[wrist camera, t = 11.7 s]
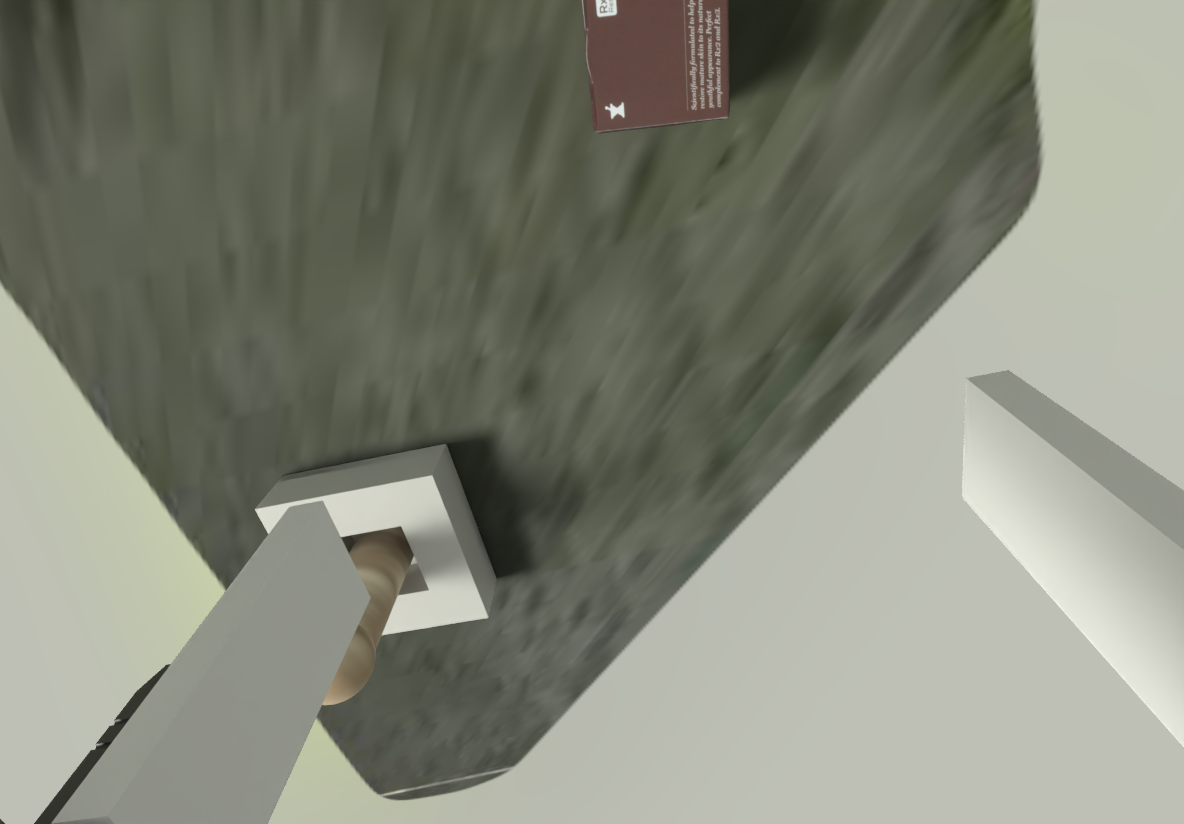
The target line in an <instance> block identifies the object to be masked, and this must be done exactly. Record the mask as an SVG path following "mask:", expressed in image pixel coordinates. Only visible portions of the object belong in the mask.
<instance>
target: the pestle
mask: <svg viewBox="0 0 1184 824" xmlns="http://www.w3.org/2000/svg"><path fill="white" fill-rule="evenodd" d="M349 555H350V557H351V559H352V561H353V563H354V565H355V567H356V569H357V571H358V573H359V575H360V577H361V579H362V581H363V583H364V585H365V587H366V589H367V591H368V593H369V595H370V597H371V598H370V600H369V603H368V605H367V607H366V609H365V611H364V614H363V616H362V618H361V620H360V622H359V625H358V627H357V629H356V631H355V633H354V636H353V638H352V640H351V642H350V644H349V647H348V649H347V651H346V653H345V655H344V657H343V660H342V662H341V664H340V666H339V668H338V671H337V673H336V675H335V677H334V679H333V682H332V684H331V686H330V688H329V690H328V693H327V695H326V697H325V699H324V701H323V703H322V705H332V704H337V703H340V702H343V701H345V700H347V699H349V698H351V697H352V696H354V695H355V694H356V693H358V692H359V691H360V690H361V689H362V688H363V687H364V685H365V684H366V683H367V681H368V680H369V678H370V676H371V674H372V672H373V669H374V665H375V659H376V648H377V645H378V643H379V640H380V638H381V636H382V633H383V631H384V628H385V626H386V623H387V621H388V618H389V616H390V613H391V611H392V608H393V606H394V604H395V601H396V599H397V596H398V594H399V591H400V589H401V586H402V584H403V581H404V579H405V577H406V574H407V572H408V569H409V567H410V564H411V562H412V559H413V557H414V554H413V552H412V550H411V547H410V545H409V543H408V541H407V538H406V536H405V534H404V531H403V529H402V527H401V526H399V527H394V528H388V529H383V530H377V531H372V532H366V533H361V534H360V535H359V536H358V538H357V540H356V542H355V544H354V546H353V547H352V549H351V551H350V553H349Z"/></svg>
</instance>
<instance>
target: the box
mask: <svg viewBox="0 0 1184 824" xmlns="http://www.w3.org/2000/svg"><path fill="white" fill-rule="evenodd" d="M582 9H583V21H584V31H585V42H586V56H587V64H588V75H589V86H590V98H591V108H592V119H593V128H594V131H595V132H596V133H608V132H617V131H625V130H635V129H644V128H655V127H663V126H672V125H680V124H687V123H695V122H702V121H710V120H721V119H725V118H728V117H729V111H730V25H729V19H730V18H729V0H582Z"/></svg>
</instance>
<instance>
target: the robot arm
mask: <svg viewBox="0 0 1184 824" xmlns="http://www.w3.org/2000/svg"><path fill="white" fill-rule="evenodd" d="M962 498H963V499H964V500H965V501H966V502H967V503H968V504H969V506H970V507H971V508H972V509H973V510H974V511H975V512H976V513H977V515H978V516H979V517H980V518H981V519H982V520H983V521H984V523H985V524H986V525H987V526H988V527H989V528H990V529H991V530H992V532H993V533H994V534H995V535H996V536H997V537H998V538H999V539H1000V540H1001V542H1002V543H1003V544H1004V545H1005V546H1006V547H1007V548H1008V550H1009V551H1010V552H1011V553H1012V554H1013V555H1014V556H1015V557H1016V559H1017V560H1018V561H1019V562H1020V563H1021V564H1022V565H1023V567H1024V568H1025V569H1026V570H1027V571H1028V572H1029V573H1030V574H1031V575H1032V577H1033V578H1034V579H1035V580H1036V581H1037V582H1038V583H1039V585H1040V586H1041V587H1042V588H1043V589H1044V590H1045V591H1046V592H1047V593H1048V595H1049V596H1050V597H1051V598H1052V599H1053V600H1054V601H1055V603H1056V604H1057V605H1058V606H1059V607H1060V608H1061V609H1062V610H1063V612H1064V613H1065V614H1066V615H1067V616H1068V617H1069V618H1070V620H1071V621H1072V622H1073V623H1074V624H1075V625H1076V626H1077V627H1078V628H1079V630H1080V631H1081V632H1082V633H1083V634H1084V635H1085V636H1086V638H1088V640H1089V641H1090V642H1091V643H1092V644H1093V645H1094V647H1095V648H1096V649H1097V650H1098V651H1099V652H1100V653H1101V655H1102V656H1103V657H1104V658H1105V659H1106V660H1107V661H1108V662H1109V663H1110V665H1111V666H1112V667H1113V668H1114V669H1115V670H1116V671H1117V673H1118V674H1119V675H1120V676H1121V677H1122V678H1123V679H1124V680H1125V682H1126V683H1127V684H1128V685H1129V686H1130V687H1131V688H1132V689H1133V691H1134V692H1135V693H1136V694H1137V695H1138V696H1139V697H1140V698H1141V700H1142V701H1143V702H1144V703H1145V704H1146V705H1147V706H1148V708H1149V709H1150V710H1151V711H1152V712H1153V713H1154V714H1155V715H1156V717H1157V718H1158V719H1159V720H1160V721H1161V722H1162V723H1163V724H1164V726H1165V727H1166V728H1167V729H1168V730H1169V731H1170V732H1171V733H1172V735H1173V736H1174V737H1175V738H1176V739H1177V740H1178V741H1179V742H1180V744H1181V745H1182V746H1183V747H1184V491H1183V490H1182V489H1180V488H1179V487H1177V486H1176V485H1175V484H1173V483H1172V482H1170V481H1169V480H1167V479H1166V478H1164V477H1163V476H1162V475H1160V474H1159V473H1157V472H1155V471H1154V470H1153V469H1151V468H1150V467H1148V466H1147V465H1146V464H1144V463H1143V462H1141V461H1140V460H1138V459H1137V458H1135V457H1134V456H1132V455H1131V454H1130V453H1128V452H1127V451H1125V450H1124V449H1122V448H1121V447H1119V446H1118V445H1116V444H1115V443H1113V442H1112V441H1111V440H1109V439H1108V438H1106V437H1105V436H1103V435H1102V434H1100V433H1099V432H1098V431H1096V430H1095V429H1093V428H1092V427H1090V426H1089V425H1087V424H1086V423H1084V422H1083V421H1082V420H1080V419H1079V418H1077V417H1076V416H1074V415H1073V414H1071V413H1070V412H1068V411H1067V410H1066V409H1064V408H1063V407H1061V406H1060V405H1058V404H1057V403H1055V402H1054V401H1052V400H1051V399H1050V398H1048V397H1047V396H1045V395H1044V394H1042V393H1041V392H1039V391H1038V390H1036V389H1035V388H1033V387H1032V386H1031V385H1029V384H1027V383H1026V382H1025V381H1023V380H1022V379H1020V378H1019V377H1017V376H1016V375H1014V374H1013V373H1012V372H1010V371H1009V370H1007V371H1002V372H996V373H991V374H986V375H981V376H975V377H970V378H966V395H965V423H964V452H963V482H962ZM370 598H371V597H370V595H369V593H368V591H367V589H366V587H365V585H364V583H363V581H362V579H361V577H360V575H359V573H358V571H357V569H356V567H355V565H354V563H353V561H352V559H351V557H350V555H349V553H348V551H347V549H346V547H345V545H344V543H343V541H342V539H341V537H340V534H339V532H338V530H337V528H336V526H335V524H334V522H333V520H332V518H331V516H330V514H329V512H328V510H327V508H326V506H325V504H324V502H323V500H322V501H317V502H312V503H306V504H301V505H296V506H291V507H289V508H288V509H287V511H286V512H285V513H284V515H283V516H282V517H281V519H280V520H279V521H278V522H277V524H276V525H275V526H274V528H273V529H272V530H271V532H270V533H269V534H268V536H267V537H266V538H265V540H264V541H263V542H262V544H261V545H260V546H259V548H258V549H257V550H256V552H255V553H254V554H253V556H252V557H251V558H250V560H249V561H248V562H247V564H246V565H245V566H244V568H243V569H242V570H241V572H240V573H239V574H238V576H237V577H236V578H235V580H234V581H233V582H232V584H231V585H230V586H229V588H228V589H227V590H226V592H225V593H224V594H223V596H222V597H221V598H220V600H219V601H218V602H217V604H216V605H215V606H214V608H213V609H212V610H211V612H210V613H209V614H208V616H207V617H206V618H205V620H204V621H203V622H202V624H201V625H200V626H199V628H198V629H197V630H196V632H195V633H194V634H193V635H192V637H191V638H190V639H189V641H188V642H187V644H186V645H185V646H184V647H183V649H182V650H181V651H180V653H179V654H178V656H177V657H176V658H175V660H174V661H173V662H172V664H169V665H166V666H165V667H164V668H163V669H161V670H160V671H159V672H158V673H157V674H156V675H155V676H153V677H152V678H151V679H150V680H149V681H148V682H147V683H146V684H144V685H143V686H142V687H141V688H140V689H139V690H138V691H137V692H136V693H135V694H134V696H133V697H132V698H131V699H130V701H129V702H128V703H127V705H126V706H125V707H124V708H123V710H122V711H121V712H120V714H119V715H118V716H117V717H116V719H115V720H114V721H115V724H114V725H113V726H109V728H108V729H107V730H106V732H105V733H104V734H103V736H102V737H101V738H100V739H99V741H98V742H97V743H96V749H95V750H91V751H90V753H89V754H88V755H87V757H85V759H84V760H83V761H82V763H81V764H80V765H79V767H78V768H77V769H76V770H75V772H74V773H73V774H72V775H71V777H70V778H69V779H68V781H67V782H66V783H65V785H64V786H63V787H62V789H61V790H60V791H59V792H58V794H57V795H56V796H55V797H54V799H53V800H52V802H51V803H50V804H49V805H48V807H47V808H46V809H45V810H44V812H43V813H42V814H41V816H40V817H39V818H38V819H37V821H36V822H35V823H34V824H268V822H269V820H270V817H271V815H272V813H273V811H274V809H275V806H276V804H277V802H278V800H279V798H280V795H281V793H282V791H283V789H284V787H285V785H286V782H287V780H288V778H289V776H290V774H291V771H292V769H293V767H294V764H295V763H296V760H297V758H298V756H299V754H300V752H301V749H302V747H303V745H304V743H305V741H306V738H307V736H308V734H309V732H310V730H311V727H312V725H313V723H314V721H315V719H316V717H317V714H318V712H319V710H320V708H321V706H322V703H323V701H324V699H325V697H326V695H327V693H328V690H329V688H330V686H331V684H332V682H333V679H334V677H335V675H336V673H337V671H338V668H339V666H340V664H341V662H342V660H343V657H344V655H345V653H346V651H347V649H348V647H349V644H350V642H351V640H352V638H353V636H354V633H355V631H356V629H357V627H358V625H359V622H360V620H361V618H362V616H363V614H364V611H365V609H366V607H367V605H368V603H369V600H370ZM0 824H5V823H4V822H3V821H2V820H1V819H0Z"/></svg>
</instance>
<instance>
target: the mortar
mask: <svg viewBox="0 0 1184 824" xmlns="http://www.w3.org/2000/svg"><path fill="white" fill-rule="evenodd" d="M322 500H323V502H324V504H325V506H326V508H327V510H328V512H329V514H330V516H331V518H332V520H333V522H334V524H335V526H336V528H337V530H338V532H339V534H340V537H341V539H342V541H343V543H344V545H345V547H346V549H347V551H348V553H350V551H351V549H352V547H353V546H354V544H355V542H356V540H357V538H358V536H359V535H360V534H361V533H366V532H372V531H377V530H383V529H388V528H394V527H399V526H401V527H402V529H403V531H404V534H405V536H406V538H407V541H408V543H409V545H410V547H411V550H412V552H413V554H414V557H413V559H412V562H411V564H410V567H409V569H408V572H407V574H406V577H405V579H404V581H403V584H402V586H401V589H400V591H399V594H398V596H397V599H396V601H395V604H394V606H393V608H392V611H391V613H390V616H389V618H388V621H387V623H386V626H385V628H384V631H383V633H382V635H386V634H392V633H398V632H404V631H410V630H416V629H423V628H429V627H435V626H441V625H447V624H453V623H459V622H465V621H471V620H478V619H484V618H489V613H490V609H491V604H492V599H493V595H494V590H495V585H496V581H497V578H496V575H495V573H494V570H493V567H492V565H491V562H490V559H489V557H488V554H487V551H486V549H485V546H484V543H483V541H482V538H481V535H480V533H479V530H478V527H477V525H476V522H475V519H474V517H473V514H472V511H471V509H470V506H469V503H468V501H467V498H466V495H465V493H464V490H463V487H462V485H461V482H460V479H459V477H458V474H457V471H456V469H455V466H454V463H453V461H452V458H451V455H450V453H449V450H448V447H447V445H446V444H442V445H437V446H432V447H427V448H422V449H417V450H412V451H407V452H401V453H396V454H391V455H386V456H381V457H376V458H371V459H366V460H361V461H356V462H351V463H345V464H340V465H335V466H330V467H325V468H320V469H315V470H310V471H305V472H300V473H295V474H289V475H284V476H282V477H281V478H280V480H279V481H278V482H277V483H276V484H275V486H274V487H273V488H272V489H271V490H270V492H269V493H268V494H267V495H266V496H265V498H264V499H263V500H262V501H261V502H260V504H259V505H258V506H257V507H256V508H255V511H256V512H257V514H258V516H259V518H260V520H261V521H262V523H263V525H264V527H265V529H266V530H267V532H268V534H269V533H270V532H271V530H272V529H273V528H274V526H275V525H276V524H277V522H278V521H279V520H280V519H281V517H282V516H283V515H284V513H285V512H286V511H287V509H288V508H289V507H291V506H296V505H301V504H306V503H312V502H317V501H322Z"/></svg>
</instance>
